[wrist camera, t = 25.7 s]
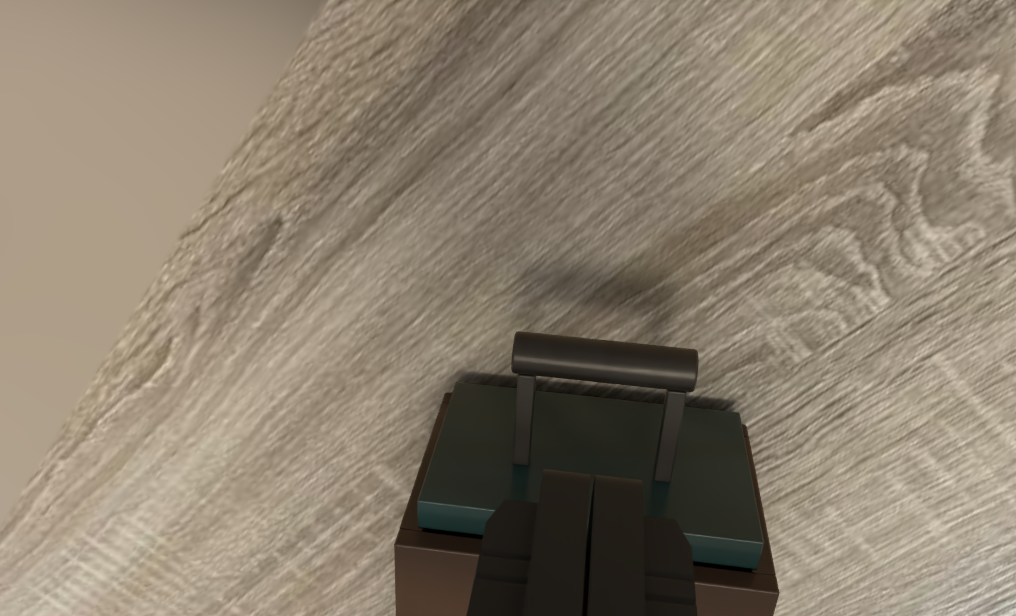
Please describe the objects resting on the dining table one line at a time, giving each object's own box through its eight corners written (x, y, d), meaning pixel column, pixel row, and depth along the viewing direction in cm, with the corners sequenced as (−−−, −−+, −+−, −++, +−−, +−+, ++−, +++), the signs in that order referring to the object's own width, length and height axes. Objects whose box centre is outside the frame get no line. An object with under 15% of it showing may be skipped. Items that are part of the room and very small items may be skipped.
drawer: (458, 266, 33) (416, 369, 26) (764, 296, 32) (797, 410, 25) (451, 615, 42) (418, 754, 35) (689, 647, 41) (700, 796, 34)
